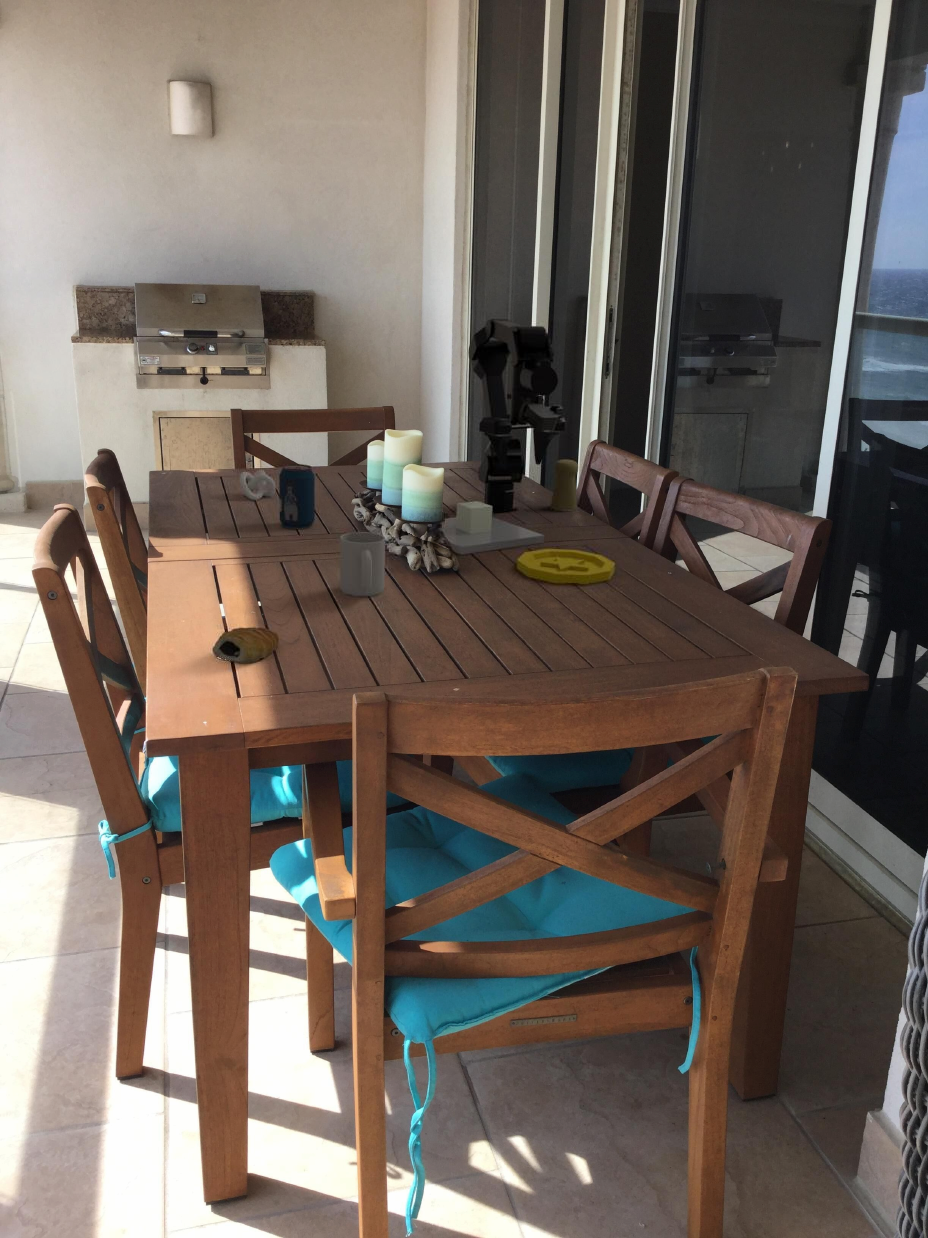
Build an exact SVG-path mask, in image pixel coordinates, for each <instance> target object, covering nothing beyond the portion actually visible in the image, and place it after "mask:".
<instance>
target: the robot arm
mask: <svg viewBox="0 0 928 1238" xmlns="http://www.w3.org/2000/svg"><path fill="white" fill-rule="evenodd" d="M554 352H555V351H554V350H553V346H552V343H551V339H550V336H549V333H548V331H547V329H546V328H545V327H544V326H540V325H520V324H518V323H516V322H512V321H511V319H510V320H509V319H508V318H490V319H487V321H486V323H485V325H484V327H482V328H481V329H480V330H478V331H477V332H476V333H474V335H473V336H472V339H471V341H470V343H469V346H468V359H469V361H470V363H471V367H472V371H473V372H474V374H475V375H476V376H477V377H478V378H479V379H480V381H481V385H482V386H481V387H482V393H483V400H484V402H483V403H484V408H485V417H482V419H481V420H480V421H479V427H478V431H479V432H481V433H483V435H484V436H486V437H488V440H489V442H488V443H487V446H486V448H485V450H484V452H483V458H482V460H481V463H480V466H479V468H478V470H477V473H478V474H477V475H478V480H479V481H480V482H482V483H484V484H485V486H484V502H483V503H484V504H487V505H490V506H492V513H501V512H503V513H504V512H511V511H518V506H514V500H515V499H514V498H515V497H514V495H515V490H514V489H515V488H514V487H515V484H514V483H518V484H521V483H522V480H523V474H524V470H525V465H526V461H525V458H524V456H523V453H522V448H521V446H522V445H521V441H520V439H519V438H514V437H513V435H511V432H512V430H525V429H532V432H533V433H532V435H533V436H532V438H533V453H534V460H535V461H534V462H535V464H536V465H537V466H539V465H541V463H542V462H543V459H544V457H545V453H546V451H547V449H548V446H549V445H550V443H551V441H552V440H553V439H554V438H556V437H557V436H559V435H561V431H566V426H567V421H566V419H565V418H564V407H563V406H562V405H560V404H556V405H555V404H554V405H551V406H545V403H544V399H545V398H544V397H545V396H549V395H550V394H552V393H554V392H555V390H556V388H557V386H558V383H559V378H558V374H557V372H556V370H555V369H554V368H552V367H551V366H550V363H554V358H553V357H554V354H555V353H554ZM510 355H511V357H512V359H511V362H510V363H511V365H512V369H511V370H512V371H511V389H510V393H509V392H508V393H505V385H504V384H505V383H504V378H503V373H504V370H505V369H506V367H507V364H508V362H509V361H508V359H509V356H510ZM507 399H508V400H510V405H509V407H510V409H509V412H508V407H507V406H508V405H507Z"/></svg>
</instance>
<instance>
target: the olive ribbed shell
mask: <svg viewBox="0 0 928 1238" xmlns="http://www.w3.org/2000/svg"><path fill="white" fill-rule="evenodd" d="M279 641H280V640H279V635H278V633H277V632H274V631H272V630H270V629H268V628H266V627H237V628H232V629H231V630H229V631H224V632H223V633H222V634H221V635H220V636H219V637H218V639H217V641H216V642H215V644H214V646H213V647H212V653H213V655H214V656H215V658H216V657H219V658H221V659H224V660H223V661H225V659H226V660H230V661H229V662H233V663H236V662H237V663H236V664H253V663H255V662H259V661H260V659H262V658H263V659H266V658H267V657H268V656H270V655H271V654H273V653H274V652H275V651H276V650H277V649H278V647H279ZM276 648H277V649H276ZM275 649H276V650H275ZM274 650H275V651H274ZM273 651H274V652H273ZM265 657H266V658H265ZM219 658H218V659H219ZM221 659H220V660H221Z"/></svg>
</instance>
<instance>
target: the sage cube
mask: <svg viewBox="0 0 928 1238" xmlns="http://www.w3.org/2000/svg"><path fill="white" fill-rule="evenodd" d="M492 517H493V511H492V506H490V505H487V504H484V502H481V501H478V500H477V501H475V500H474V501H468V502H467V501H466V502H460V503H459V502H457V503H456V516H455V518H456V528H457V529H460V530H462V531H465V532H467V533H470V534H472V533H480V532H488V531H491V524H492Z"/></svg>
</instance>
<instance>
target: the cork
mask: <svg viewBox="0 0 928 1238" xmlns="http://www.w3.org/2000/svg"><path fill="white" fill-rule="evenodd" d="M578 471H579V464H578V463H577V461H575V460H572V459H567V458H566V459H559V460H557V461H556V462H555V464H554V472H555V473H556V477H555V481H554V482H555V483H554V488H553V492H552V497H551V501H550V502H551V503H550V505H549V508H550V507H551V508H552V509H555V510H554V511H556V510H567V511H568V510H576V511H577V510H578V508H577V507H578V505H577V503H578V502H577V484H576V475H577V473H578ZM551 508H550V509H551ZM552 509H551V510H552Z"/></svg>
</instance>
